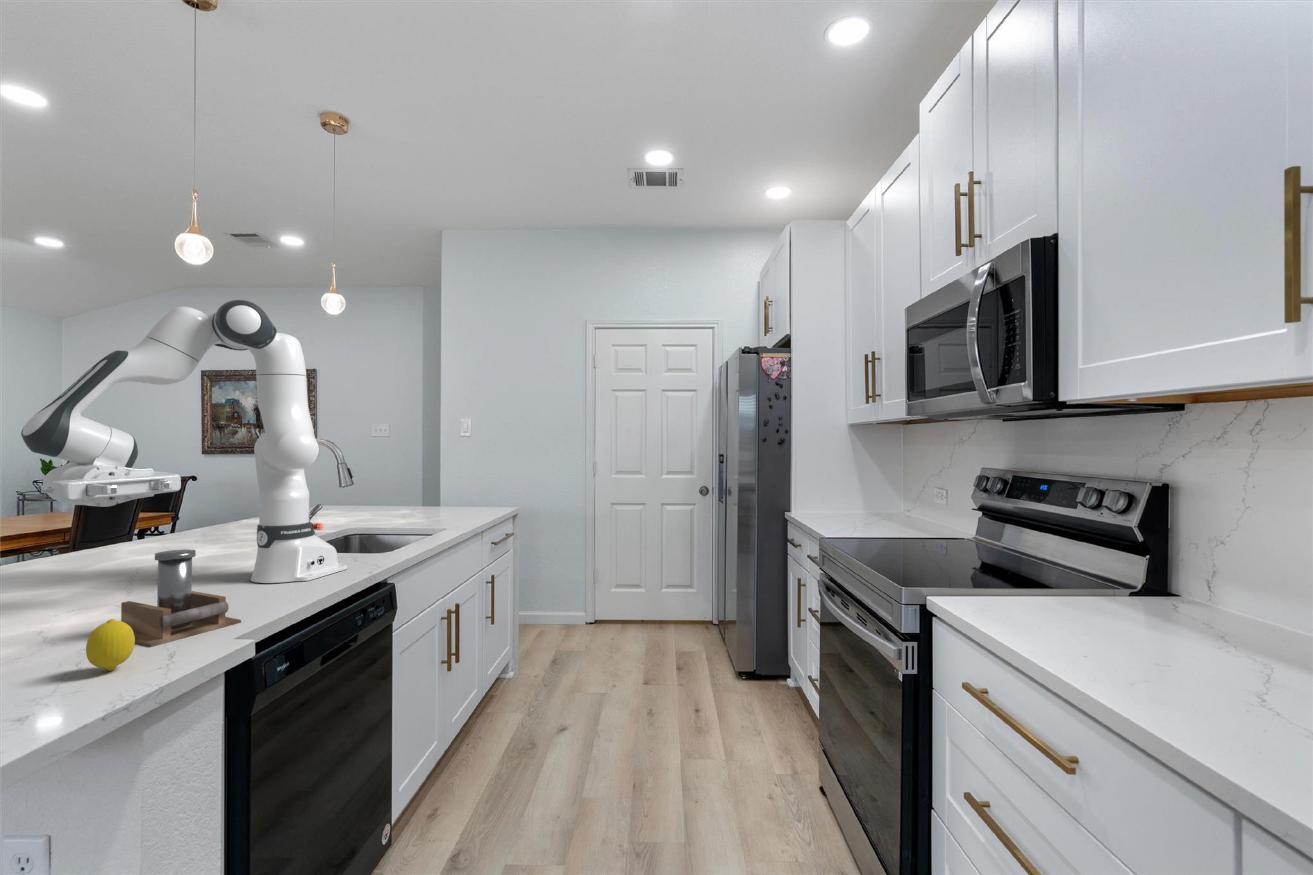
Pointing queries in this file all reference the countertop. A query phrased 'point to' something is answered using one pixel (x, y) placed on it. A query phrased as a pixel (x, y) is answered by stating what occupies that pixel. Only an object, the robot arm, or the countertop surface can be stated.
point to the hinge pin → (175, 581)
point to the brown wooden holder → (175, 619)
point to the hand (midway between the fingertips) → (141, 487)
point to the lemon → (110, 644)
